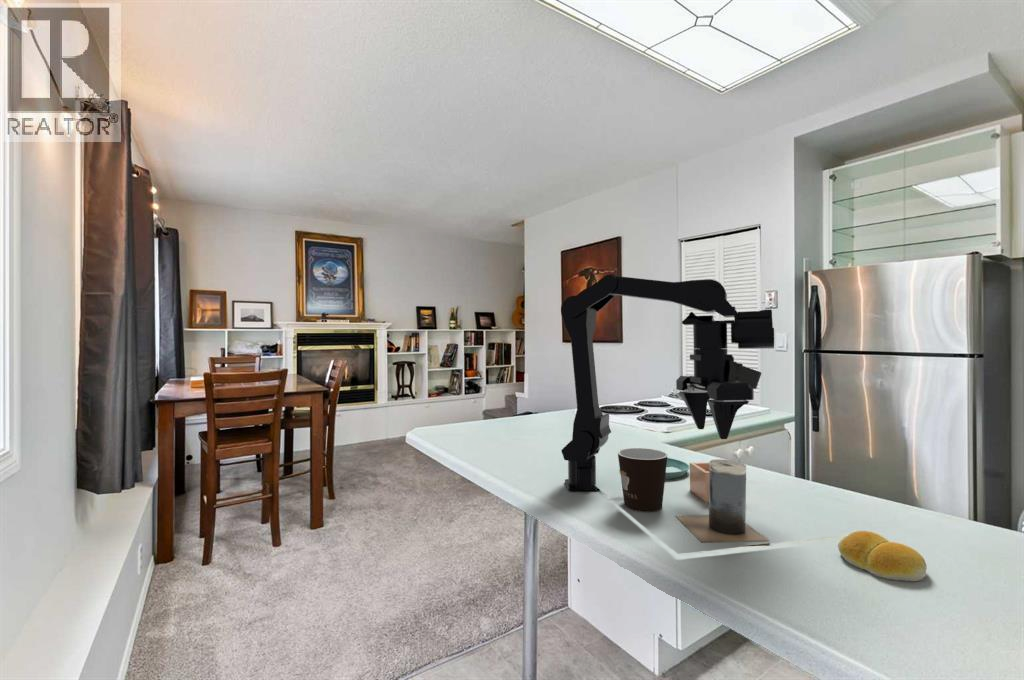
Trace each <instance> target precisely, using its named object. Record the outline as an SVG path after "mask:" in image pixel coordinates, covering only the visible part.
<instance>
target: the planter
mask: <svg viewBox="0 0 1024 680" xmlns="http://www.w3.org/2000/svg"><path fill="white" fill-rule="evenodd" d="M707 471H709V462H689V491H691V492H692V493H693V494H695V495H696V496H698V497H699V498H700V499H701V500H702V501H703V502H705V503H709V472H707Z"/></svg>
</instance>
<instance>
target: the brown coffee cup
mask: <svg viewBox="0 0 1024 680" xmlns="http://www.w3.org/2000/svg"><path fill="white" fill-rule="evenodd" d="M617 458H618V467H619V473H620V482H621V488H622V497H623V503H624V507H626V508H627V509H629V510H632V511H634V512H635V511H636V512H642V513H654V512H659V511H661V510H662V508H663V502H664V492H665V482H666V479H665V475H666V472H667V467H666V465H667V458H668V454H667V453H666V451H662V450H660V449H659V450H658V449H653V448H646V447H645V448H644V447H630V448H622V449H619V450H618V451H617Z"/></svg>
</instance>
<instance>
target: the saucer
mask: <svg viewBox="0 0 1024 680" xmlns="http://www.w3.org/2000/svg"><path fill="white" fill-rule="evenodd" d="M666 468H676V469H678V470H680V471H672V472H671V471H670V472H668V471H666V475H665V480H669V479H671V480H673V479H677V478H680V477H683V476H684V475H685V474H687V472H688V471H689V470H690V464H688V463H687V462H685V461H682V460H680V459H675V458H671V457H667V465H666Z"/></svg>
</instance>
